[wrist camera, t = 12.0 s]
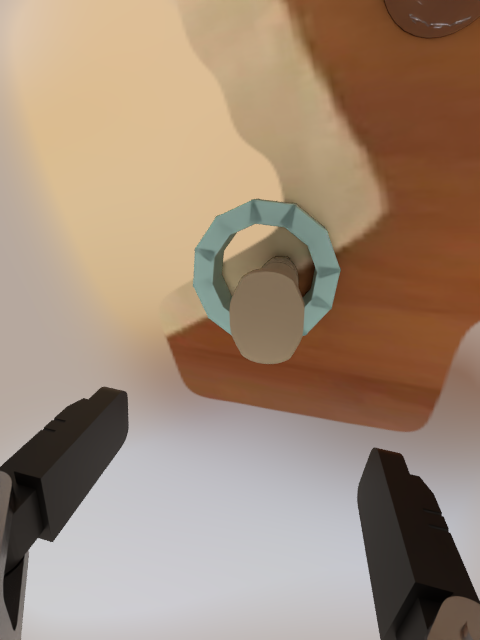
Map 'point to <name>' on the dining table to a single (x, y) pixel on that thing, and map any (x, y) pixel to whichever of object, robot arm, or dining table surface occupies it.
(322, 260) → the notched ring
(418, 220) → the dining table surface
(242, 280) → the handle
